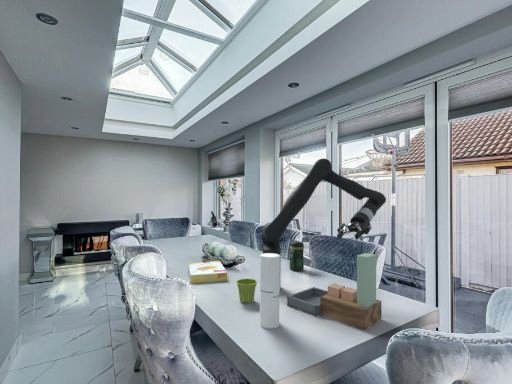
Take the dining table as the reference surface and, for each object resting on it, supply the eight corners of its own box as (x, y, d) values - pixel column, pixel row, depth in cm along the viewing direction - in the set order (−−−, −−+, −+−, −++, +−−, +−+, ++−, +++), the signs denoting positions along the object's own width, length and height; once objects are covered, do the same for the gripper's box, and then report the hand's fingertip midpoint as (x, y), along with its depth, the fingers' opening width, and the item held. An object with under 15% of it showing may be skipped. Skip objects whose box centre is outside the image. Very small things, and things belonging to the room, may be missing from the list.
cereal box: (219, 260, 182) (228, 271, 155) (219, 268, 182) (228, 281, 155) (187, 262, 176) (190, 274, 149) (187, 271, 176) (190, 284, 149)
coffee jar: (305, 271, 177) (305, 241, 177) (294, 272, 174) (294, 242, 175) (298, 267, 186) (299, 239, 186) (287, 268, 184) (288, 240, 184)
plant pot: (241, 306, 118) (241, 285, 119) (232, 299, 127) (233, 280, 127) (260, 302, 123) (261, 283, 123) (251, 296, 131) (251, 277, 131)
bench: (364, 331, 97) (364, 310, 97) (320, 314, 110) (320, 296, 111) (381, 319, 107) (381, 300, 107) (339, 305, 120) (339, 289, 120)
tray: (316, 316, 109) (316, 306, 109) (287, 305, 120) (287, 296, 120) (342, 304, 122) (342, 295, 122) (313, 295, 133) (313, 286, 133)
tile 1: (338, 298, 110) (338, 289, 110) (327, 294, 113) (327, 286, 113) (345, 295, 113) (345, 286, 113) (334, 292, 117) (334, 283, 117)
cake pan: (202, 268, 182) (202, 261, 182) (199, 260, 206) (199, 254, 206) (239, 266, 189) (239, 259, 189) (231, 258, 213) (231, 252, 213)
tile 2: (353, 302, 105) (353, 292, 105) (341, 298, 109) (341, 289, 109) (359, 299, 109) (359, 290, 109) (347, 295, 112) (347, 287, 112)
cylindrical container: (258, 320, 105) (259, 253, 106) (277, 319, 106) (278, 253, 106) (260, 328, 98) (261, 257, 99) (280, 328, 99) (281, 257, 99)
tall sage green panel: (367, 307, 100) (367, 257, 101) (356, 304, 103) (356, 255, 103) (376, 302, 105) (376, 254, 105) (365, 299, 108) (365, 253, 108)
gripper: (345, 212, 136) (329, 230, 126) (374, 210, 125) (359, 230, 115) (351, 225, 137) (335, 244, 127) (379, 225, 127) (365, 245, 116)
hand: (346, 237), depth 121 cm, fingers open, 8 cm apart
